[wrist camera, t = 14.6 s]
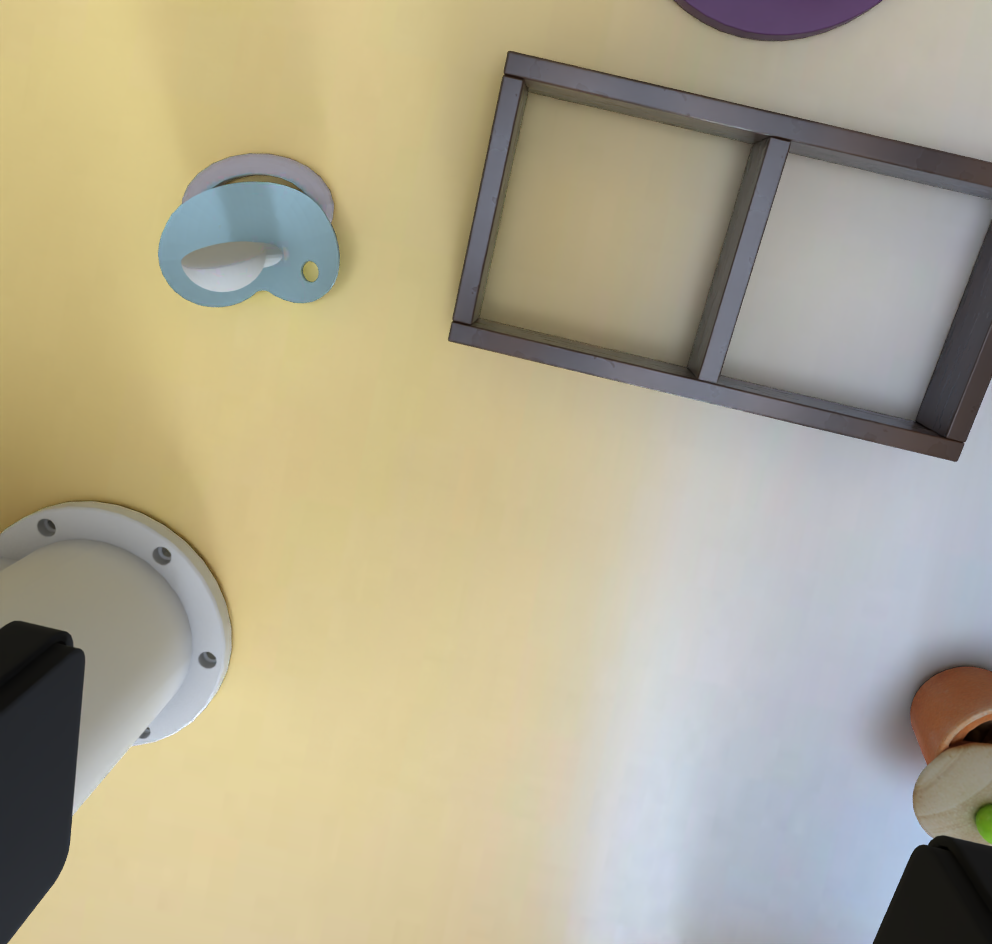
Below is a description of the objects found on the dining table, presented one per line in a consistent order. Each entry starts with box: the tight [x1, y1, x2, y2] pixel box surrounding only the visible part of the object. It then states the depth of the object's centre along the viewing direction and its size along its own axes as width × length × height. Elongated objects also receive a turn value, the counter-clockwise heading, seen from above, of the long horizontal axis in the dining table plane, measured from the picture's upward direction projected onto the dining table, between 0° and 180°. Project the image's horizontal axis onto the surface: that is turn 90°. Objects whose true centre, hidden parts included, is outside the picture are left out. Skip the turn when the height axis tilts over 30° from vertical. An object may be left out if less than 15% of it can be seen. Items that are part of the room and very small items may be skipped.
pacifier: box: [158, 153, 340, 307], centre depth 32 cm, size 7×6×6 cm
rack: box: [448, 51, 992, 462], centre depth 33 cm, size 20×11×3 cm, turn 77°
